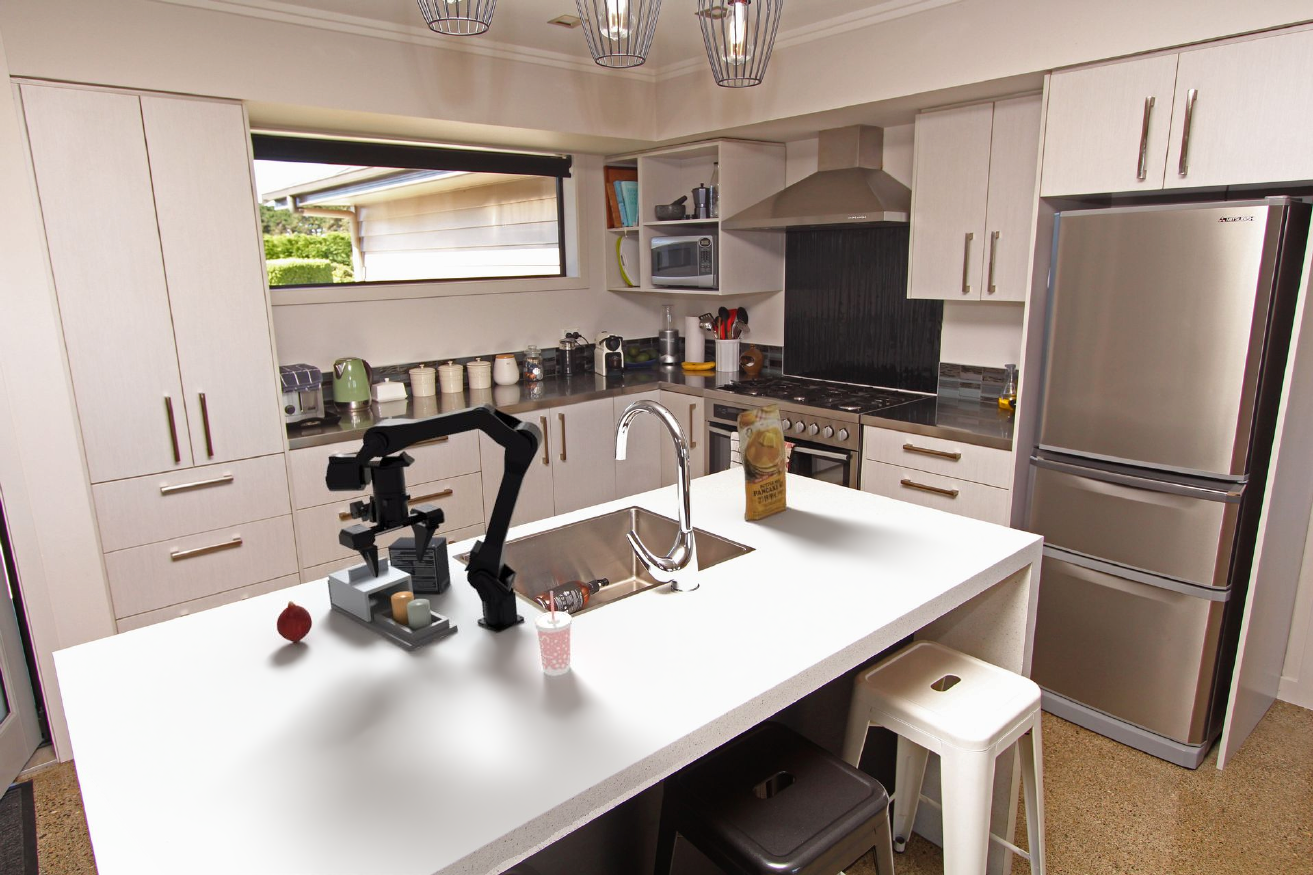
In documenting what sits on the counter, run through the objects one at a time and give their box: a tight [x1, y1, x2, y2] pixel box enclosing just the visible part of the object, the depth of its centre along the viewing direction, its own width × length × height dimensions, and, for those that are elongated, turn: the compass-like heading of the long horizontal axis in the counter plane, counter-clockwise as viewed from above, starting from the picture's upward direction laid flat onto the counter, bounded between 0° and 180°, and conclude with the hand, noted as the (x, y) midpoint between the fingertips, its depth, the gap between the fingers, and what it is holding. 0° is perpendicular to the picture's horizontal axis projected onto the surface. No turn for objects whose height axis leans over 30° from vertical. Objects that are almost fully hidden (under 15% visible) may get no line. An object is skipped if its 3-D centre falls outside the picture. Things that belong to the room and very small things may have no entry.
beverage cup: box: [534, 590, 573, 676], centre depth 132 cm, size 6×6×14 cm
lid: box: [327, 556, 413, 622], centre depth 156 cm, size 14×10×8 cm
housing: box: [327, 579, 459, 652], centre depth 152 cm, size 28×10×6 cm, turn 50°
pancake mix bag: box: [736, 403, 787, 521], centre depth 204 cm, size 7×19×28 cm, turn 132°
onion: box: [276, 600, 313, 643], centre depth 144 cm, size 6×6×8 cm
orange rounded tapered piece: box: [391, 591, 415, 625], centre depth 149 cm, size 4×4×5 cm
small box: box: [387, 536, 452, 595], centre depth 166 cm, size 11×6×10 cm, turn 84°
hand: (398, 569), depth 148 cm, fingers open, 9 cm apart
